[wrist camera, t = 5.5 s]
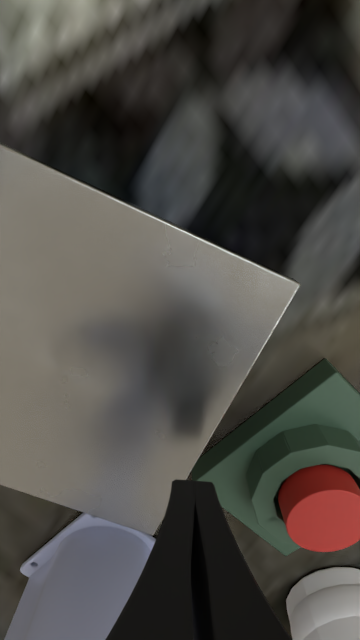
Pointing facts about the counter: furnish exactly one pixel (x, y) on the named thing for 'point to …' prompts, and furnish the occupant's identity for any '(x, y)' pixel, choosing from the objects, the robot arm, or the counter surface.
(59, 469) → the canister lid
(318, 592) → the bottle
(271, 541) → the green base
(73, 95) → the counter surface
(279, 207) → the counter surface
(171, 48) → the counter surface
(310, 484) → the timer button
